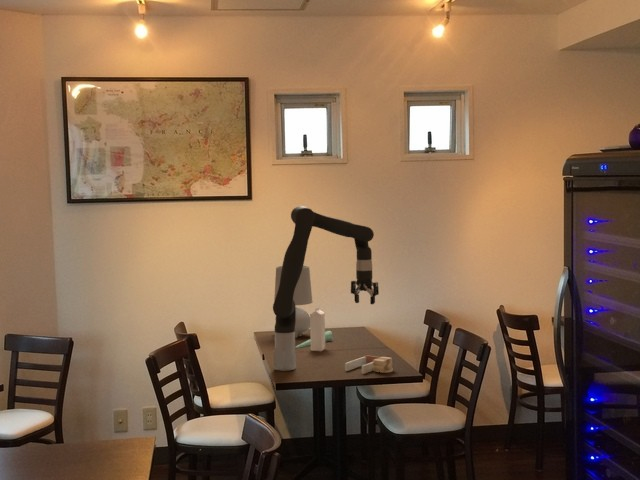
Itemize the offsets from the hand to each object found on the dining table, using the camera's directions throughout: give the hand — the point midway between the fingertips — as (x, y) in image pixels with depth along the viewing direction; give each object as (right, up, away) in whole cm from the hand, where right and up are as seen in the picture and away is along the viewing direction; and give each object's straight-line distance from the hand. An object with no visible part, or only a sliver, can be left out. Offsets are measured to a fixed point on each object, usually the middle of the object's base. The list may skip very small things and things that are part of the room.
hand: (364, 303), depth 329 cm
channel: (-1, -29, -9) cm, 30 cm away
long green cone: (-25, -26, +46) cm, 58 cm away
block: (+7, -28, -15) cm, 33 cm away
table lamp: (-36, -25, +69) cm, 82 cm away
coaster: (+8, -29, -14) cm, 33 cm away
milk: (-22, -27, +32) cm, 47 cm away
